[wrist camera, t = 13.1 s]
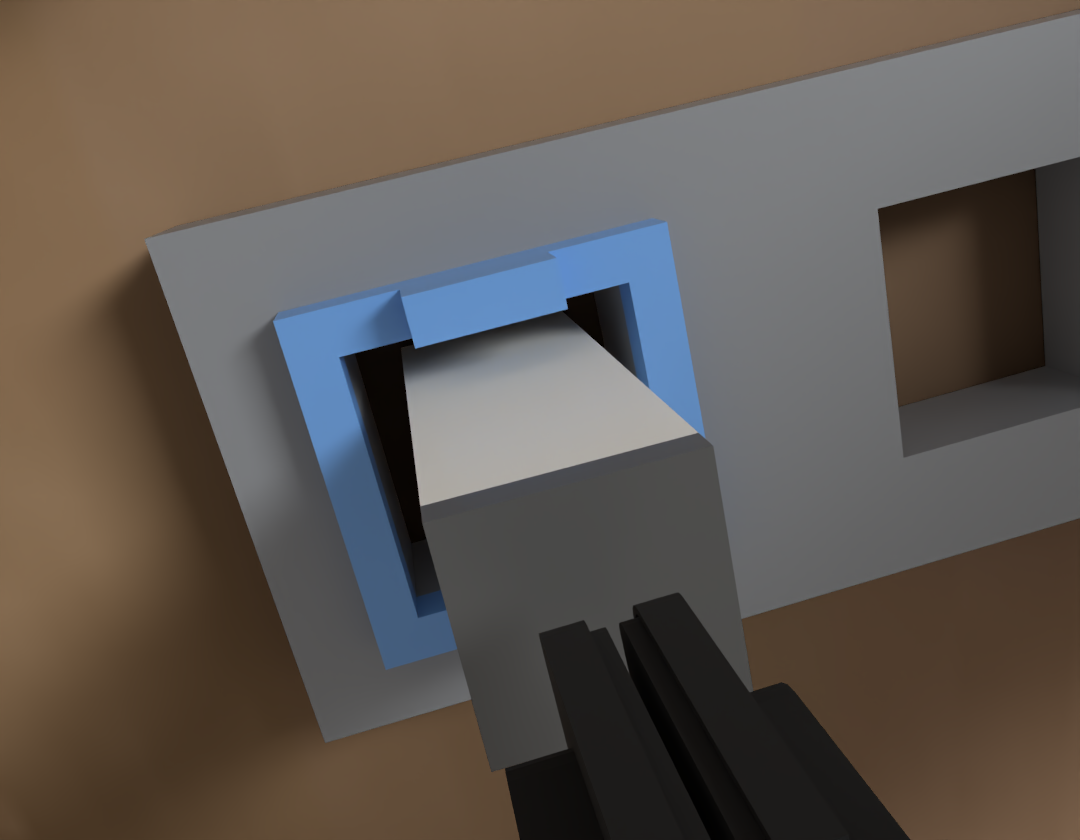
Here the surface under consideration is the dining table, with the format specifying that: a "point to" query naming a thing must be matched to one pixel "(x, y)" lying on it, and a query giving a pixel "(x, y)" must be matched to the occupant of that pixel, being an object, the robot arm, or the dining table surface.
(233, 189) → the dining table surface
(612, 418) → the grey square peg
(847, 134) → the gray peg hole board
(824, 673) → the dining table surface
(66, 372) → the dining table surface
